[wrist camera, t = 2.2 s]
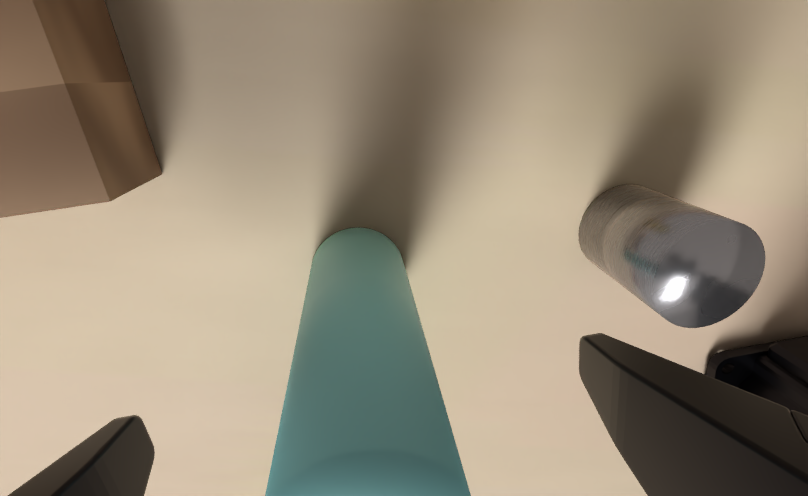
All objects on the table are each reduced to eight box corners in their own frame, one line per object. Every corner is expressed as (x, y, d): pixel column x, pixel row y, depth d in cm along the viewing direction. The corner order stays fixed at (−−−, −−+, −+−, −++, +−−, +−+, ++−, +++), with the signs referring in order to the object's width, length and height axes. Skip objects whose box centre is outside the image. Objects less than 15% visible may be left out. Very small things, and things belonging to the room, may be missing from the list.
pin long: (408, 303, 15) (481, 579, 7) (321, 318, 15) (286, 619, 7) (397, 220, 14) (465, 429, 6) (302, 235, 14) (231, 473, 6)
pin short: (659, 260, 16) (754, 317, 12) (577, 274, 16) (649, 336, 12) (667, 177, 15) (774, 212, 11) (579, 191, 14) (658, 231, 11)
